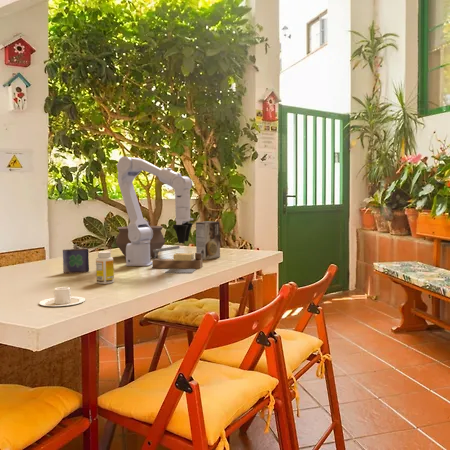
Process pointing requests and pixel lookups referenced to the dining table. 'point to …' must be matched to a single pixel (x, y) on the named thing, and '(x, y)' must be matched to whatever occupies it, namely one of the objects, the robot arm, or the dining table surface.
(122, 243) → the brown round pot
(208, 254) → the coffee box
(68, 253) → the flask
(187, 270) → the mat
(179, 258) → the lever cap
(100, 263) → the supplement bottle
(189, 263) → the body
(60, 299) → the candle holder
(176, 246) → the lever
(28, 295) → the dining table surface
